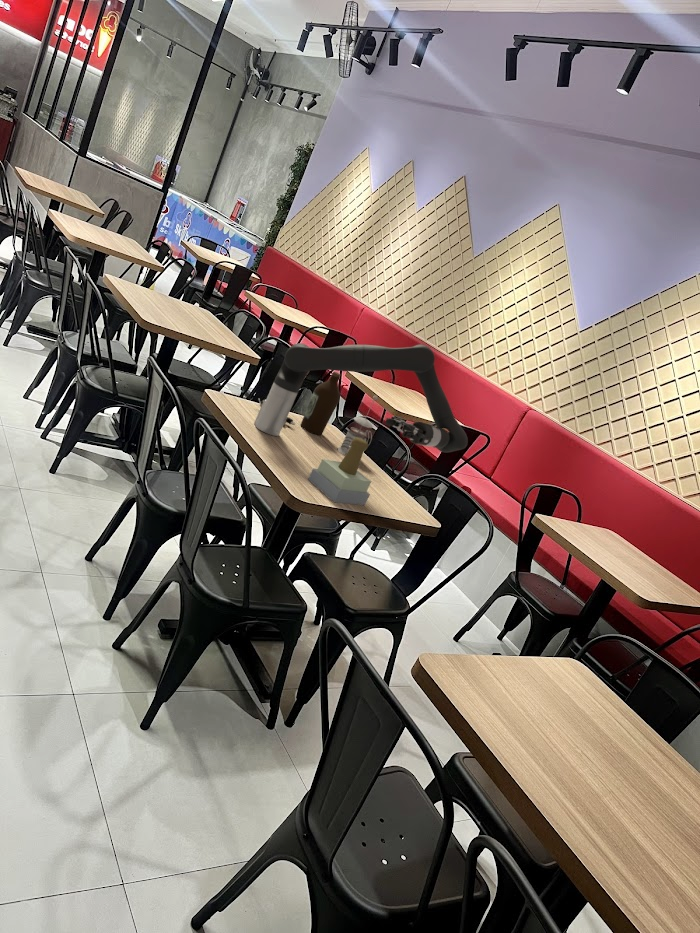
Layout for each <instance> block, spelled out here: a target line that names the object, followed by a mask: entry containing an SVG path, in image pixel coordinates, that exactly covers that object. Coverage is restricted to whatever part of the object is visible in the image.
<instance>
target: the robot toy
mask: <svg viewBox="0 0 700 933" xmlns="http://www.w3.org/2000/svg"><path fill="white" fill-rule="evenodd" d="M264 400H265V399H263V400H262V401H261V399H260V398H258V402H259V406H260V407H261V406H262V404H263V401H264ZM285 423H287V424H289V425H292V426H295V425H296V423H295V422H294V420H293V419H292V418H291V417H288V416H287V418H286V421H285ZM285 423H284V425H285Z"/></svg>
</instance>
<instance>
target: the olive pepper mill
mask: <svg viewBox="0 0 700 933" xmlns="http://www.w3.org/2000/svg"><path fill="white" fill-rule="evenodd" d="M351 445H352V446H350V447H351V448H350V449H349V451H348V452H347V454H346V455H344V457H342V460H341V461H340V462H341V463H340V465H339V466H338V467H339V468H340V469H341V470H342V471H344V472H346V473H348V474H351V475H356V472H357V470H358V469H359V466H360V462H361V460H362V458H363V454H364V452H365V451H367V449H368V447H369V445H368V442H367V440H366V441H365V440H363V439H361V438H358V437H356V438H354V439H353V440H352V443H351Z"/></svg>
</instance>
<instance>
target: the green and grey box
mask: <svg viewBox="0 0 700 933" xmlns="http://www.w3.org/2000/svg"><path fill="white" fill-rule="evenodd" d="M341 462H342V461H337V460H330V459H325V458H324V459H323V458H322V459H321V461H320V463H319V466H318V468H312V470H311V471H310V474H309V475H308V478H307V480H308V481H310V482H311V483H312V484H313V485H314V486H315V487H316V488H317V489H318V490H319V491H321V492H322V493H323V494H324V495H325V496H326V497H327V498H329V499H330V501H332V502H334V503H337V504H349V505H350V504H351V505H360V506H365V505H366V504H367V502H368V499H369V497H370V495H371V494H370V493H369V492H368V490H369V487H370V486H371V483H372V480H370V479H369V478H368V477H366V476H365V475H364V474H363V473H361V472H360V471H359V470H358V469H357V472H356V475H351V474H348V473H346V472H344V471H342V470H341V469H340V468H339V467H338V466H339V465H340V463H341Z"/></svg>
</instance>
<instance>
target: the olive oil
mask: <svg viewBox="0 0 700 933" xmlns="http://www.w3.org/2000/svg"><path fill="white" fill-rule="evenodd" d="M340 377H341V373H339V372H338V371H332V374H331V375H330V377H329V379H328V380H326V381H323V382H321V383H319V384H318V385H317V386H316V387H315V388H314V390H313V392H312V394H311V398H310V400H309V403H308V405H307V407H306V410H305V413H304V415H303V418H302V421H301V423H300V427H301V428H302V427H303V428H302V429H304V430H305V429H306V430H305V431H307V432H309V433H311V432H312V433H311V434H313V433H315V434H314V435H316V434H319V435H318V436H322V435H323V433H324V432H325V430H326V427H327V425H328V423H329V421H330V419H331V418H332V416H333V414H334V412H335V410H336V408H337V406H338V405H339V402H340V398H341V393H340V389H339V385H338V382H339V380H340ZM321 434H322V435H321Z"/></svg>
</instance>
